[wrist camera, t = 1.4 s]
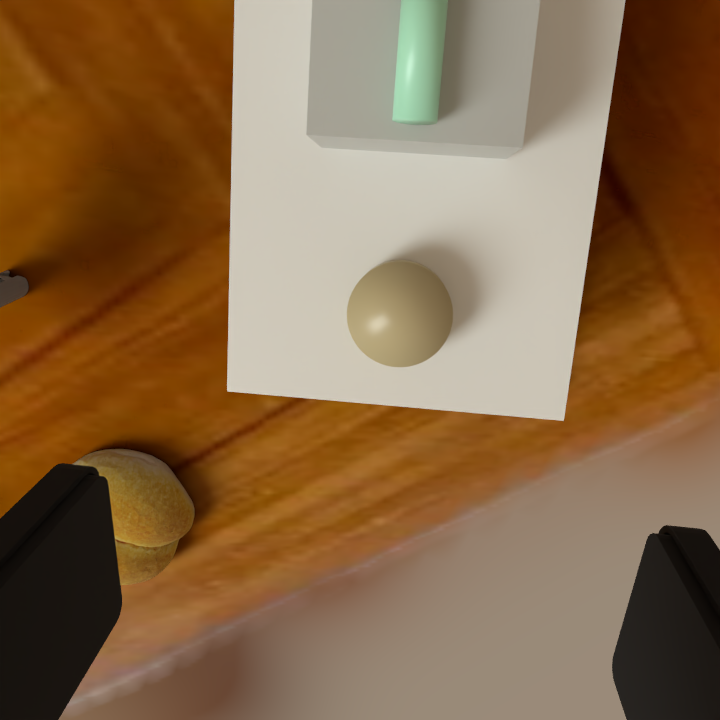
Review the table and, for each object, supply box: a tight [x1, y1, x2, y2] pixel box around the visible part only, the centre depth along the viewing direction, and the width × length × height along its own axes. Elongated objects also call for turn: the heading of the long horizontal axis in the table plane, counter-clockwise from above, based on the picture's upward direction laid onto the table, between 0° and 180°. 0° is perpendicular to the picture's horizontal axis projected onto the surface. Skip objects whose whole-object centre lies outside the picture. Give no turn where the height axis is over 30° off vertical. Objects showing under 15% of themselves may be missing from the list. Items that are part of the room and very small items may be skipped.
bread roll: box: [74, 449, 195, 585], centre depth 37 cm, size 8×9×4 cm
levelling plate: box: [227, 0, 625, 421], centre depth 21 cm, size 20×14×6 cm
